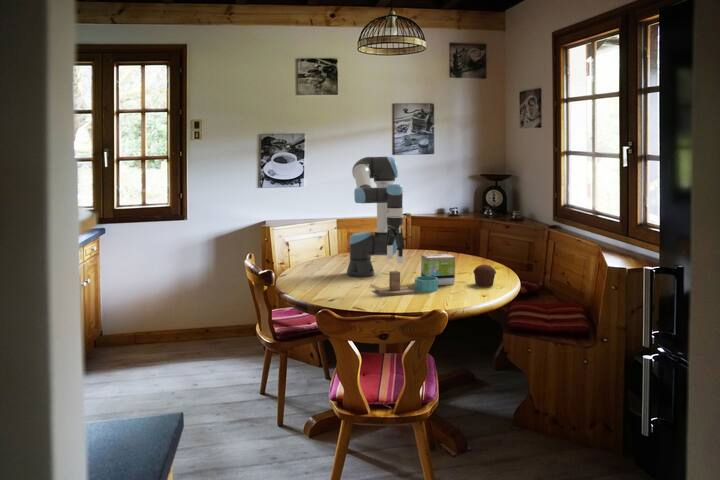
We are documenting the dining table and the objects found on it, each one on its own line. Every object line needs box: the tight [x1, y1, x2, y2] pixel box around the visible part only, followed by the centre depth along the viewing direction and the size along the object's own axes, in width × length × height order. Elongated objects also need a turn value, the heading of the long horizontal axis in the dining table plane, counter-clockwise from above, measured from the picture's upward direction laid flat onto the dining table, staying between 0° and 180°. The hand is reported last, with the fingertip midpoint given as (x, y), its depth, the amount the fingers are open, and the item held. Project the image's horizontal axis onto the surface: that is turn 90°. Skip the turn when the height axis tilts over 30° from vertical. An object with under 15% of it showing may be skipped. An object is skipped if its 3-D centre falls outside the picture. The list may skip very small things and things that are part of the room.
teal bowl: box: [414, 275, 439, 293], centre depth 296 cm, size 11×11×6 cm
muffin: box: [472, 264, 497, 287], centre depth 307 cm, size 12×11×10 cm
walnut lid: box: [374, 270, 416, 297], centre depth 291 cm, size 12×16×10 cm
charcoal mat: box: [371, 289, 420, 298], centre depth 292 cm, size 14×20×1 cm
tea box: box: [420, 253, 456, 286], centre depth 310 cm, size 15×10×15 cm, turn 105°
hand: (394, 261), depth 289 cm, fingers open, 13 cm apart
